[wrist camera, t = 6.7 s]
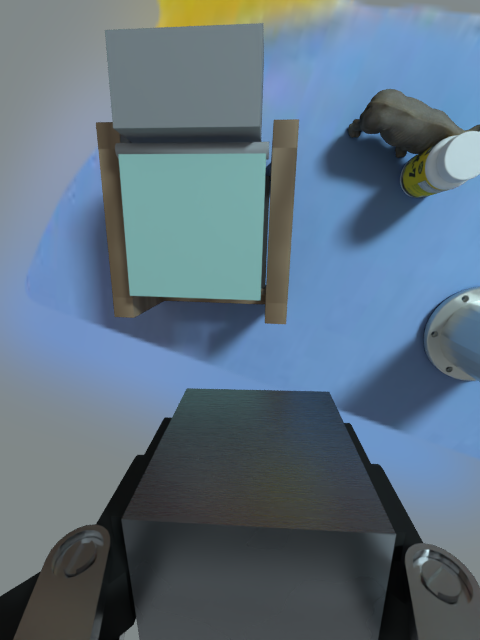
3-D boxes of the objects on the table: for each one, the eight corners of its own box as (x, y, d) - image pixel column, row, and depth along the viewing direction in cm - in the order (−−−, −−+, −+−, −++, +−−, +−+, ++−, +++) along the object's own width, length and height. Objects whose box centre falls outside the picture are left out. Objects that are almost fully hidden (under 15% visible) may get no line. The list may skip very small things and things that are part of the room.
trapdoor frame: (288, 161, 34) (298, 119, 23) (279, 300, 39) (285, 324, 27) (151, 162, 36) (95, 122, 24) (158, 296, 40) (114, 316, 28)
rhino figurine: (452, 181, 33) (491, 168, 27) (342, 140, 33) (358, 118, 27) (472, 144, 32) (517, 122, 26) (358, 101, 32) (378, 70, 26)
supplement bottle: (415, 146, 33) (464, 114, 25) (450, 166, 33) (510, 141, 25) (390, 187, 34) (428, 168, 26) (423, 206, 34) (472, 194, 26)
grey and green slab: (272, 60, 23) (273, 22, 19) (262, 295, 28) (262, 303, 24) (123, 65, 24) (95, 30, 20) (139, 291, 29) (119, 298, 25)
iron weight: (329, 391, 10) (395, 534, 5) (320, 506, 11) (366, 706, 6) (186, 388, 10) (121, 519, 5) (194, 500, 11) (146, 686, 7)
